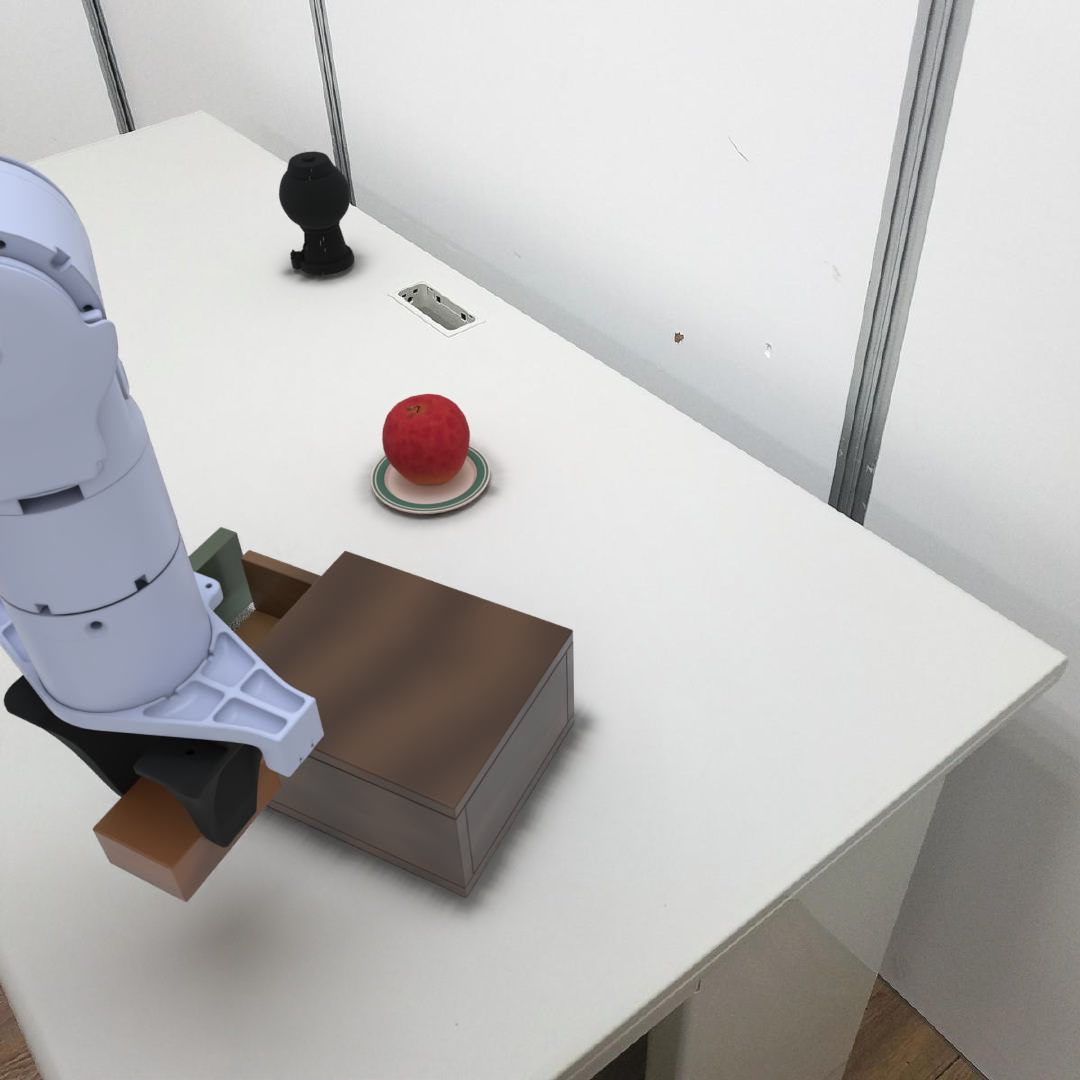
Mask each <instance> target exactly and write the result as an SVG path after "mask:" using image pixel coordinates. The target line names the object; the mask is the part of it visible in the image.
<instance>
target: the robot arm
mask: <svg viewBox="0 0 1080 1080" xmlns="http://www.w3.org/2000/svg"><path fill="white" fill-rule="evenodd" d="M151 440H152V439H151V437H150V434H149V431H148V427H147V423H146V421H145V418H144V415H143V412H142V409H140V407H139V405H138V403H137V402H136V400H135V399H134V397H132V395H131V394H130V384H129V380H128V377H127V374H126V369H125V366H124V364H123V361H122V359H121V358H120V357H119V340H118V333H117V329H116V325H115V323H114V322H113V321H111V320H110V319H108V317H107V314H106V308H105V304H104V299H103V295H102V290H101V286H100V281H99V276H98V272H97V268H96V263H95V258H94V254H93V249H92V245H91V241H90V238H89V235H88V232H87V229H86V227H85V225H84V223H83V221H82V219H81V217H80V216H79V213H78V212H77V210H76V208H75V207H74V205H73V204H72V202H71V201H70V199H69V198H68V197H67V196H66V194H65V193H64V192H63V190H61V188H59V186H58V185H57V184H56V183H54V182H53V180H51V179H50V178H49V177H47V176H46V175H45V174H43V173H42V172H40V171H39V170H37V168H34V167H32V166H31V165H29V164H27V163H26V162H23V161H22V160H19V159H16V158H14V157H12V156H9V155H6V154H2V153H0V647H1V648H2V649H3V651H4V652H5V653H6V654H7V656H8V657H9V658H10V660H11V661H12V662H13V664H14V665H15V666H16V668H17V669H18V670H19V672H20V673H21V674H22V675H21V676H20V677H18V679H16V680H15V681H14V682H13V683H12V684H11V685H10V686H9V687H8V688H7V690H6V691H5V693H4V695H3V706H4V707H5V709H6V711H7V713H8V714H10V715H13V716H15V717H17V718H19V719H21V720H23V721H26V722H28V723H30V724H32V725H34V726H36V727H38V728H40V729H42V730H43V731H45V732H46V733H48V734H50V735H51V736H52V737H54V738H56V739H57V740H58V741H60V742H61V743H62V744H63V745H64V746H66V748H68V749H69V750H70V751H72V752H73V753H74V754H75V755H76V756H77V757H78V758H79V759H80V760H81V761H82V762H83V763H84V764H85V765H86V766H87V767H88V768H89V769H90V770H91V771H92V772H93V773H94V774H95V775H96V776H97V777H98V778H99V779H100V780H101V781H102V782H103V783H104V784H105V785H106V786H107V787H108V788H109V789H111V791H113V792H114V793H115V794H116V795H117V796H119V797H120V798H121V797H122V796H123V795H124V794H125V793H126V792H127V791H128V790H129V789H130V788H131V787H132V786H133V785H134V784H135V783H136V782H137V780H138V779H139V778H140V777H141V776H143V777H145V778H147V779H149V780H151V781H153V782H155V783H157V784H159V785H162V786H164V787H165V788H167V789H168V790H169V791H170V792H171V793H172V794H174V795H175V796H176V798H177V799H178V800H179V801H180V802H181V803H182V804H183V806H184V807H185V808H186V810H187V811H188V813H189V815H190V816H191V818H192V820H193V821H194V823H195V825H196V826H197V828H198V829H199V831H200V832H201V833H202V834H203V835H204V836H205V837H206V838H207V839H209V840H210V841H211V842H213V843H215V844H217V845H219V846H221V847H223V848H225V847H228V846H229V845H230V843H231V842H232V841H233V840H234V839H235V837H236V836H237V835H238V834H239V832H240V831H241V830H242V829H243V828H244V826H245V825H246V824H247V823H248V821H249V820H250V819H251V818H252V817H253V815H254V814H255V813H256V812H257V790H258V777H259V770H260V763H261V758H262V754H263V757H264V760H265V763H266V766H267V767H268V768H269V769H271V770H273V771H275V772H278V773H280V774H282V775H284V776H286V777H290V776H291V775H292V774H293V773H294V771H295V770H296V769H297V768H298V767H299V765H300V764H301V763H302V762H303V761H304V760H305V759H306V757H307V756H308V755H309V754H310V753H311V751H312V750H313V749H314V747H315V746H316V744H317V743H318V742H319V741H320V740H321V738H322V737H323V736H324V732H323V728H322V724H321V720H320V716H319V712H318V708H317V704H316V700H315V698H313V697H311V696H309V695H307V694H305V693H303V692H301V691H299V690H297V689H295V688H293V687H292V686H290V685H289V684H287V683H286V682H285V681H283V680H282V678H281V677H280V676H279V675H278V674H276V673H275V672H273V671H272V670H271V669H270V668H269V667H268V666H267V665H266V664H265V663H264V662H263V661H262V660H261V659H260V658H259V657H258V656H257V655H256V654H255V653H254V652H253V651H252V650H251V649H250V648H249V647H248V646H247V645H246V644H245V643H244V642H243V641H242V640H241V639H240V638H239V637H238V636H237V635H236V634H235V633H234V630H232V629H231V628H230V626H229V627H228V626H227V625H226V624H225V623H224V622H223V621H222V620H221V619H220V618H219V617H218V616H217V615H216V614H215V613H214V612H213V610H214V609H215V608H216V607H217V606H218V605H219V604H220V603H221V601H222V600H223V593H222V590H221V587H220V584H219V582H217V581H216V580H215V579H212V578H209V577H207V576H204V575H202V574H199V573H196V572H194V571H193V569H192V566H191V563H190V560H189V554H188V551H187V548H186V543H185V541H184V539H183V536H182V533H181V530H180V529H181V528H180V527H179V524H178V519H177V516H176V513H175V510H174V507H173V504H172V501H171V498H170V495H169V491H168V489H167V485H166V482H165V479H164V477H163V473H162V470H161V468H160V464H159V461H158V458H157V455H156V452H155V449H154V447H153V444H152V443H153V442H152V441H151Z"/></svg>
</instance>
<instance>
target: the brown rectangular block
mask: <svg viewBox="0 0 1080 1080" xmlns="http://www.w3.org/2000/svg"><path fill="white" fill-rule="evenodd" d="M280 788H281V783H280V780H279V776H278V773H277V772H275V771H273V770H271V769H269V768H268V767H267V766H266V763H265V760H264V757H263V754H262V758H261V763H260V770H259V777H258V790H257V812H256V813H255V814H254V815H253V817H252V818H251V819H250V820H249V821H248V823H247V824H246V825H245V826H244V828H243V829H242V830H241V831H240V832H239V834H238V835H237V836H236V837H235V839H234V840H233V841H232V842H231V843H230V845H229V846H228V847H225V848H223V847H221V846H219V845H217V844H215V843H213V842H211V841H210V840H209V839H207V838H206V837H205V836H204V835H203V834H202V833H201V832H200V831H199V829H198V828H197V826H196V825H195V823H194V821H193V820H192V818H191V816H190V815H189V813H188V811H187V810H186V808H185V807H184V806H183V804H182V803H181V802H180V801H179V800H178V799H177V798H176V796H175V795H174V794H172V793H171V792H170V791H169V790H168V789H167V788H165V787H164V786H162V785H159V784H157V783H155V782H153V781H151V780H149V779H147V778H145V777H143V776H141V777H140V778H139V779H138V780H137V782H136V783H135V784H134V785H133V786H132V787H131V788H130V789H129V790H128V791H127V792H126V793H125V794H124V795H123V796H122V797H120V798H119V799H118V800H117V801H116V803H114V804H113V805H112V806H111V808H110V809H109V810H107V812H106V813H105V814H104V815H103V817H102V818H100V819H99V821H98V822H96V824H95V825H94V826H93V827H92V832H93V834H94V835H95V837H96V839H97V840H98V843H99V845H100V847H101V848H102V851H103V853H104V855H105V856H106V859H107V860H108V862H109V864H111V865H113V866H115V867H117V868H119V869H121V870H123V871H124V872H127V873H128V874H130V875H132V876H134V877H137V878H138V879H140V880H142V881H144V882H146V883H148V884H149V885H151V886H153V887H155V888H157V889H159V890H161V891H163V892H165V893H167V894H169V895H171V896H172V897H175V898H176V899H178V900H180V901H182V902H184V903H189V901H190V900H191V899H192V897H193V896H194V895H195V894H196V893H197V891H198V890H199V889H200V888H201V886H202V885H203V884H204V883H205V881H207V879H208V878H209V876H210V875H211V874H212V873H213V872H214V870H215V869H216V868H217V867H218V865H220V863H221V862H222V860H224V859H225V857H226V856H227V854H228V853H230V851H231V849H232V848H233V847H234V846H235V845H236V844H237V842H238V841H239V840H240V838H241V837H242V836H243V835H244V834H245V833H246V831H247V830H248V829H249V828H250V826H251V825H252V824H253V823H254V821H255V820H256V819H257V818H258V817H259V816H260V814H261V813H262V812H263V810H264V809H265V808H266V807H267V804H268V803H269V802H270V800H271V799H272V798H273V797H274V795H275V794H276V793H277V792H278V791H279V789H280Z"/></svg>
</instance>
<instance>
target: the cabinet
mask: <svg viewBox="0 0 1080 1080" xmlns="http://www.w3.org/2000/svg"><path fill="white" fill-rule="evenodd" d="M320 576H321V577H320V578H319V579H318V580H317V581H316V582H315V583H314V584H313V585H312V586H311V587H310V588H309V590H308V591H307V592H306V593H305V594H304V595H303V596H302V597H301V598H300V599H299V600H298V601H297V602H296V603H295V605H294V606H293V607H292V608H291V609H290V610H289V611H288V612H287V613H286V614H285V615H284V616H283V617H282V618H281V619H280V621H279V622H278V623H277V624H276V625H275V626H274V627H273V628H272V629H271V630H270V631H269V632H268V633H267V634H266V635H265V637H264V638H263V639H262V640H261V641H260V642H259V643H258V644H257V645H256V646H255V647H254V648H253V649H252V651H253V652H254V653H255V654H256V655H257V656H258V657H259V658H260V659H261V660H262V661H263V662H264V663H265V664H266V665H267V666H268V667H269V668H270V669H271V670H272V671H273V672H275V673H276V674H278V675H279V676H280V677H281V678H282V680H283V681H285V682H286V683H287V684H289V685H290V686H292V687H293V688H295V689H297V690H299V691H301V692H303V693H305V694H307V695H309V696H311V697H313V698H315V700H316V704H317V708H318V712H319V716H320V720H321V724H322V728H323V732H324V736H323V737H322V738H321V740H320V741H319V742H318V743H317V744H316V746H315V747H314V749H313V750H312V751H311V753H310V754H309V755H308V756H307V757H306V759H305V760H304V761H303V762H302V763H301V764H300V765H299V767H298V768H297V769H296V770H295V771H294V773H293V774H292V775H291V776H290V777H286V776H284V775H282V774H280V773H278V772H277V773H278V776H279V780H280V783H281V788H280V789H279V791H278V792H277V793H276V794H275V795H274V797H273V798H272V799H271V800H270V802H269V803H268V804H267V805H266V807H269V808H272V809H274V810H275V811H278V812H280V813H282V814H285V815H287V816H289V817H290V818H293V819H295V820H297V821H299V822H302V823H304V824H306V825H309V826H311V827H313V828H314V829H317V830H319V831H321V832H323V833H326V834H328V835H329V836H332V837H334V838H337V839H339V840H341V841H343V842H344V843H347V844H350V845H351V846H354V847H356V848H358V849H361V850H363V851H364V852H367V853H369V854H371V855H373V856H375V857H378V858H380V859H382V860H384V861H385V862H388V863H391V864H393V865H395V866H397V867H400V868H401V869H404V870H406V871H408V872H410V873H413V874H415V875H417V876H419V877H421V878H423V879H425V880H427V881H430V882H432V883H434V884H436V885H439V886H441V887H443V888H445V889H447V890H449V891H451V892H454V893H456V894H458V895H460V896H462V897H465V898H467V897H468V896H469V894H470V892H471V891H472V890H473V888H474V886H475V884H476V883H477V881H478V879H479V878H480V876H481V875H482V873H483V871H484V869H485V868H486V866H487V865H488V863H489V861H490V860H491V859H492V857H493V855H494V853H495V851H496V850H497V848H498V847H499V845H500V843H501V842H502V841H503V839H504V837H505V836H506V833H507V832H508V830H509V829H510V827H511V825H512V824H513V822H514V820H515V819H516V818H517V816H518V814H519V812H520V811H521V810H522V807H523V806H524V804H525V803H526V801H527V800H528V798H529V796H530V795H531V793H532V791H533V790H534V788H535V786H536V785H537V783H538V782H539V780H540V778H541V777H542V775H543V773H544V772H545V770H546V768H547V767H548V765H549V764H550V762H551V760H552V759H553V757H554V756H555V754H556V752H557V751H558V749H559V747H560V745H561V744H562V743H563V741H564V739H565V737H566V736H567V734H568V733H569V731H570V729H571V728H572V726H573V724H574V723H575V668H574V667H575V664H574V663H575V660H574V659H575V657H574V655H575V653H574V630H573V629H572V628H570V627H569V628H568V627H566V626H563V625H561V624H557V623H554V622H552V621H549V620H546V619H543V618H540V617H537V616H534V615H531V614H529V613H526V612H523V611H520V610H517V609H514V608H511V607H508V606H506V605H502V604H500V603H498V602H494V601H491V600H488V599H486V598H482V597H479V596H477V595H474V594H472V593H468V592H465V591H463V590H460V589H457V588H454V587H451V586H448V585H445V584H443V583H439V582H437V581H433V580H432V579H428V578H426V577H423V576H419V575H416V574H414V573H412V572H411V573H410V572H408V571H405V570H402V569H400V568H396V567H393V566H391V565H388V564H385V563H382V562H379V561H376V560H374V559H370V558H367V557H365V556H362V555H359V554H357V553H354V552H351V551H348V550H343V552H342V553H341V554H340V555H339V556H338V557H337V558H336V560H335V561H334V562H333V563H332V564H331V565H330V566H329V567H328V568H327V569H326V570H325V571H324V573H322V574H321V575H320Z"/></svg>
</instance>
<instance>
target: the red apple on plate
mask: <svg viewBox="0 0 1080 1080" xmlns="http://www.w3.org/2000/svg"><path fill="white" fill-rule="evenodd" d="M381 437H382V438H381V442H382V449H383V452H384V455H383V456H381V457H380V458H379V459H378V461H377V462H376V463H375V465H374V466H373V468H372V471H371V474H370V484H371V488H372V490H373V493H374V494H375V496H376V497H377V498H378V499H379V500H380V501H381V502H382V503H383V504H384V505H387V506H388V507H390V508H392V509H395V510H398V511H401V512H403V513H410V514H416V515H417V514H418V515H430V514H432V515H433V514H440V513H445V512H449V511H453V510H455V509H458V508H461V507H463V506H465V505H467V504H469V503H470V502H472V501H474V500H475V499H476V498H478V497H479V496H480V495H481V494H482V493H483V491H484V490H485V489H486V487H487V485H488V483H489V481H490V478H491V477H490V476H491V467H490V464H489V461H488V459H487V457H486V456H485V455H484V454H483V453H482V452H481V451H480V450H479V449H477V448H476V447H474V446H473V445H470V442H471V440H470V439H471V432H470V426H469V423H468V420H467V417H466V415H465V414H464V412H463V410H462V409H461V408H460V406H459V405H458V404H457V403H456V402H454V401H453V400H451V398H448V397H446V396H443V395H441V394H435V393H422V394H417V395H412V396H411V395H410V396H409V397H406V398H404V399H402V400H400V401H399V402H397V403H396V404H395V405H394V406H393V407H392V408H391V410H390V411H389V412H388V413H387V414H386V417H385V420H384V423H383V426H382V435H381Z"/></svg>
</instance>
